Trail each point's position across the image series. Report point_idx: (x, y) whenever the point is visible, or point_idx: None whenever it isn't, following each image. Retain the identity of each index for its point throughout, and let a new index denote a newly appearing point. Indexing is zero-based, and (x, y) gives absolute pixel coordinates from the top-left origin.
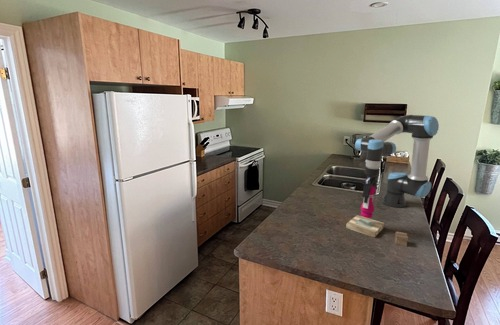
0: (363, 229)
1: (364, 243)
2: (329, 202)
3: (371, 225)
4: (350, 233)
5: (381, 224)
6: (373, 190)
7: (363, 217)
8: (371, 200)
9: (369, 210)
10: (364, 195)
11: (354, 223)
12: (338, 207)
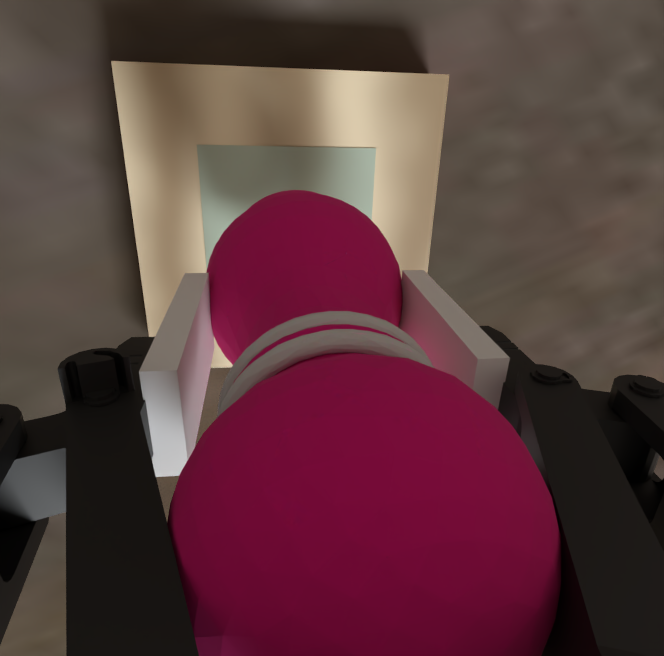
0: (432, 200)
1: (591, 115)
2: (14, 634)
3: (300, 165)
4: (479, 274)
5: (182, 79)
6: (490, 428)
7: (159, 303)
8: (347, 301)
9: (384, 238)
10: (656, 458)
11: None
12: (46, 551)
